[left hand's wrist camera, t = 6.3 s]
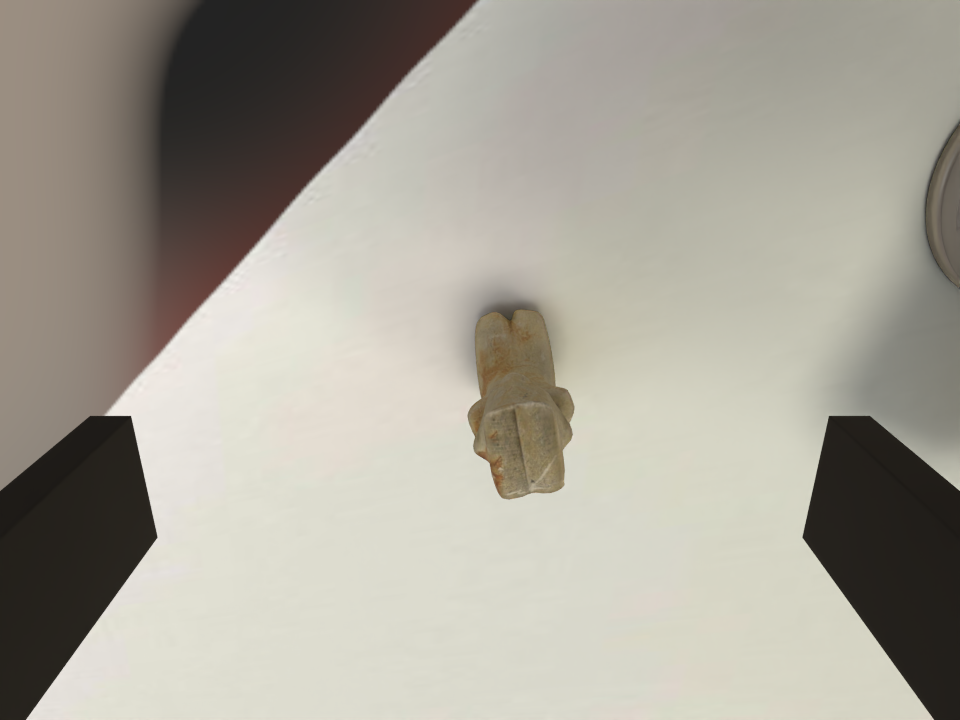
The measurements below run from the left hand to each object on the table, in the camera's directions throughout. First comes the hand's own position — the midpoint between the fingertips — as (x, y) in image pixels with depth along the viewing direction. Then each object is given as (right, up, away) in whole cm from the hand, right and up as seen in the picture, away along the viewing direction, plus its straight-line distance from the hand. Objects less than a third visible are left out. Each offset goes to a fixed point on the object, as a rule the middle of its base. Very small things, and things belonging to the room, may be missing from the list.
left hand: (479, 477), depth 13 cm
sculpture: (+2, +3, +32) cm, 32 cm away
